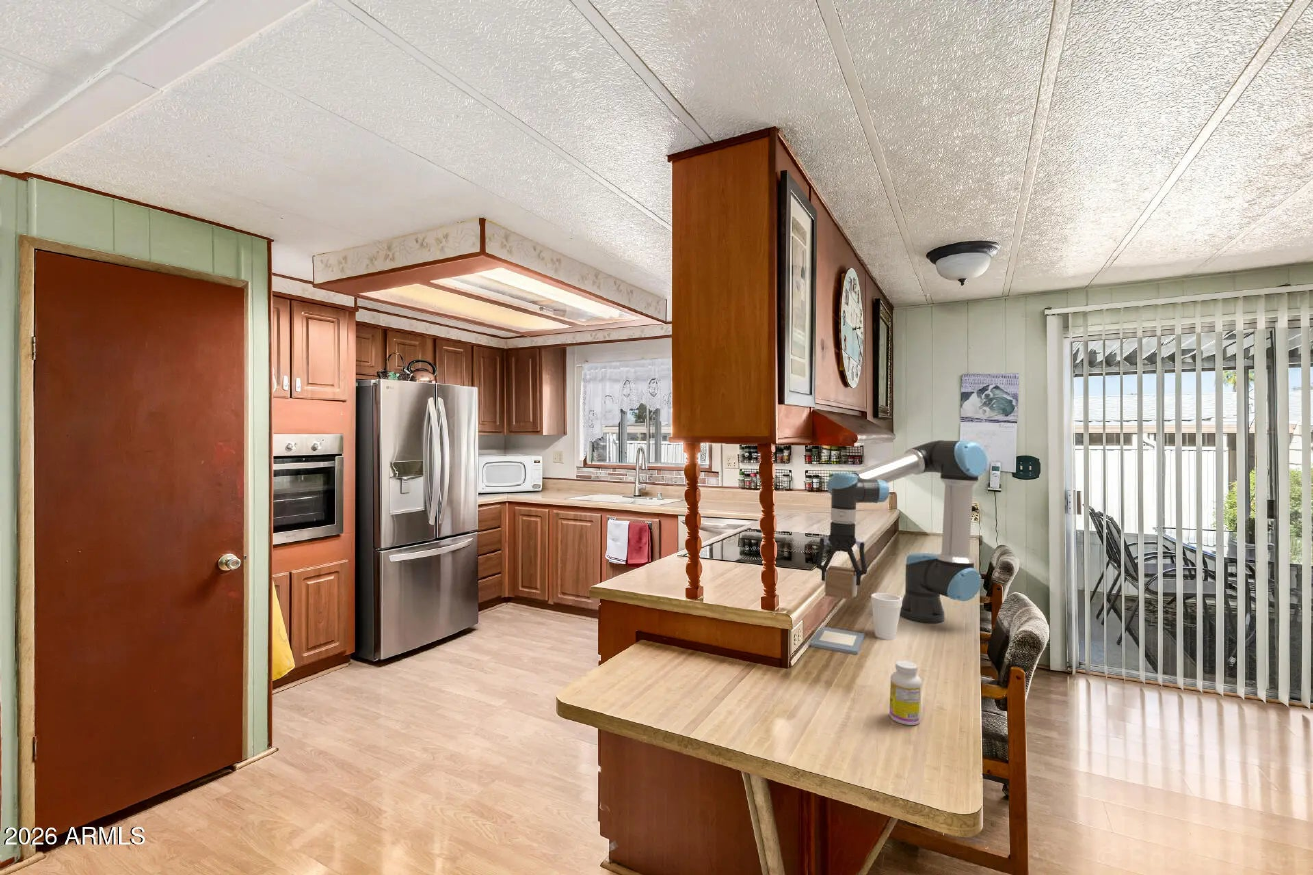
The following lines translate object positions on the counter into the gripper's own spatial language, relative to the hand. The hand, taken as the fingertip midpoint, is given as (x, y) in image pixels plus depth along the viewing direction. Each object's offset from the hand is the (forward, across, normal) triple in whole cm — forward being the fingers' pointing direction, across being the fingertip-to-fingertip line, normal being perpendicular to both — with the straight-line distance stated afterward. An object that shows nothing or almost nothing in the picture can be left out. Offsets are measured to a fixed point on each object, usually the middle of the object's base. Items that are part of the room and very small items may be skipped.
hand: (840, 593), depth 189 cm
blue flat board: (+15, 0, 0) cm, 15 cm away
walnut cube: (0, 0, 0) cm, 0 cm away
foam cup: (+16, +13, +13) cm, 24 cm away
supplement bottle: (+16, +22, -46) cm, 53 cm away
